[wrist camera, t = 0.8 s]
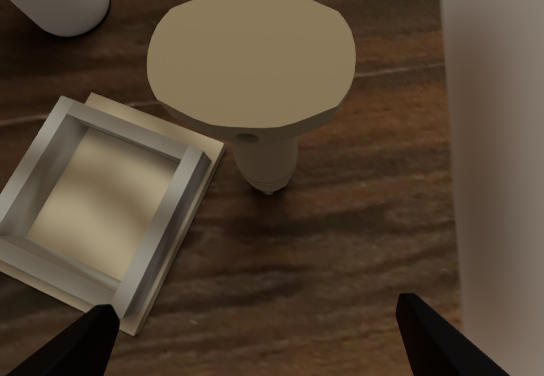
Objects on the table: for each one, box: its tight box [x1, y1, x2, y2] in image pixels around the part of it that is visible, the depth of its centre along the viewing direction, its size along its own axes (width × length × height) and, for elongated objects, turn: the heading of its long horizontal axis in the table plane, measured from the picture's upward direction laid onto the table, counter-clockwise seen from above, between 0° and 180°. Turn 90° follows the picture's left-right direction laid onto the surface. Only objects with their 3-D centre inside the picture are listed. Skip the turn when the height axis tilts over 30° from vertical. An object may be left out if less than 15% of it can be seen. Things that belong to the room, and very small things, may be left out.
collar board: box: [0, 93, 226, 336], centre depth 21 cm, size 16×13×4 cm
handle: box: [147, 0, 356, 194], centre depth 16 cm, size 5×6×15 cm
